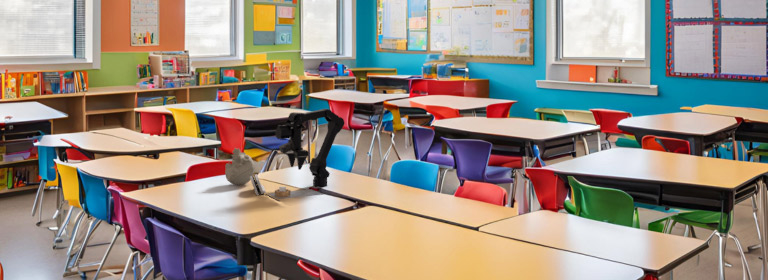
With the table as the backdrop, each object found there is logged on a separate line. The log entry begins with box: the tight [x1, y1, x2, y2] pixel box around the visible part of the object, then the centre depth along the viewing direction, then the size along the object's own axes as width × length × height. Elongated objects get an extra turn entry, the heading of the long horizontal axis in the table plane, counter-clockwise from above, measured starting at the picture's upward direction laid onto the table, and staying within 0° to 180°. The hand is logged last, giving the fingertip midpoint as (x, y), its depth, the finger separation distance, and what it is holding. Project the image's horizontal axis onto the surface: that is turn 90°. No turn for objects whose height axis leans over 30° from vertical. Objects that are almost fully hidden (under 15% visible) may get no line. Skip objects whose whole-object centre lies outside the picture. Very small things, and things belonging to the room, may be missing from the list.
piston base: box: [266, 186, 325, 202], centre depth 352 cm, size 24×14×5 cm, turn 121°
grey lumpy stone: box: [224, 147, 256, 186], centre depth 377 cm, size 13×15×20 cm
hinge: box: [250, 173, 268, 196], centre depth 361 cm, size 17×5×10 cm, turn 13°
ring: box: [274, 188, 292, 197], centre depth 349 cm, size 7×7×2 cm
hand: (295, 168), depth 363 cm, fingers open, 9 cm apart
